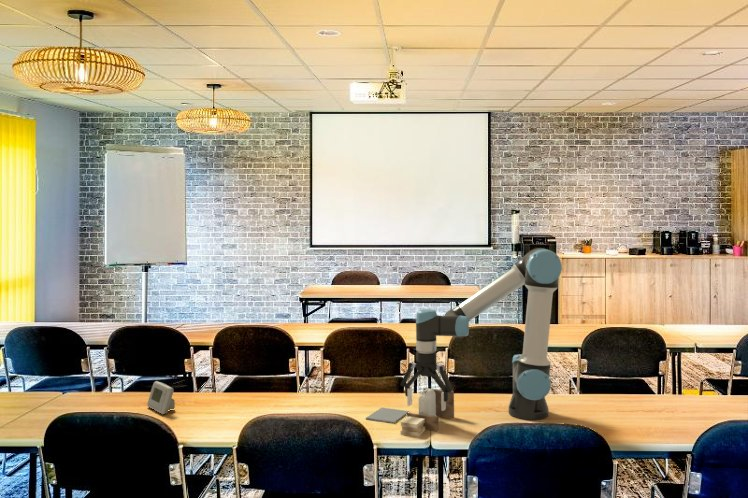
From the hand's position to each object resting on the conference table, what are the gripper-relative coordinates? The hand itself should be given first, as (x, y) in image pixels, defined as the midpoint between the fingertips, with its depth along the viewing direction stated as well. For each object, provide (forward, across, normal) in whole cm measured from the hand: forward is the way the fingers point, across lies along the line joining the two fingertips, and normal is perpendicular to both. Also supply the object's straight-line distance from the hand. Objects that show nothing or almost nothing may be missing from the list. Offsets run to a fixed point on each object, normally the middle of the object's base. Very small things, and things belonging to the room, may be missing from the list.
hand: (426, 407), depth 229 cm
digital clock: (+8, +106, +29) cm, 110 cm away
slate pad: (+6, +17, -1) cm, 18 cm away
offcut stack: (+6, +1, +11) cm, 13 cm away
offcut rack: (+6, -1, -1) cm, 6 cm away
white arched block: (+6, 0, 0) cm, 6 cm away
